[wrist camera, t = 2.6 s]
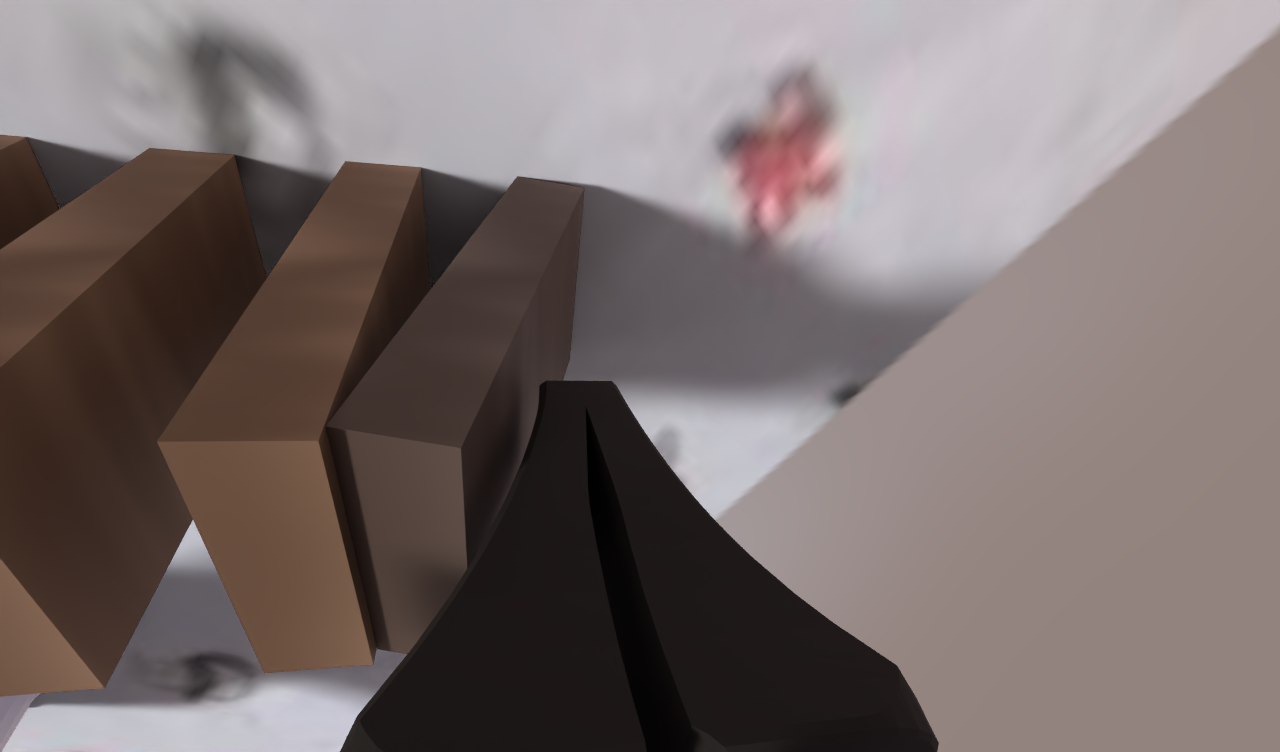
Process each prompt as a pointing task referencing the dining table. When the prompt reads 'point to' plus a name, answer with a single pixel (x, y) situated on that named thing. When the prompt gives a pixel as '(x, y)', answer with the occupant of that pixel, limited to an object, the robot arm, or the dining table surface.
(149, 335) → the domino
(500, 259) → the domino
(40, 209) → the domino
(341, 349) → the domino
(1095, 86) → the dining table surface
